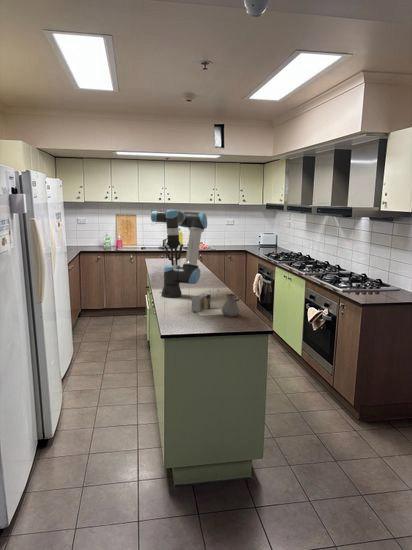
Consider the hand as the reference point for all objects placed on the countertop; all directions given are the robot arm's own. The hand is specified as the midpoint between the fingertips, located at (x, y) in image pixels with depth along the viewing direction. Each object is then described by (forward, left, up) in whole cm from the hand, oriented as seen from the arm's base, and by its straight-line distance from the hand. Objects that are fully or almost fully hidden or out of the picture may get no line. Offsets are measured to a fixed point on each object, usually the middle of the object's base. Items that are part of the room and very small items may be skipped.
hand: (174, 270), depth 259 cm
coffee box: (+14, +11, -20) cm, 27 cm away
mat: (+16, +21, -25) cm, 36 cm away
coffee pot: (+29, +30, -26) cm, 49 cm away
